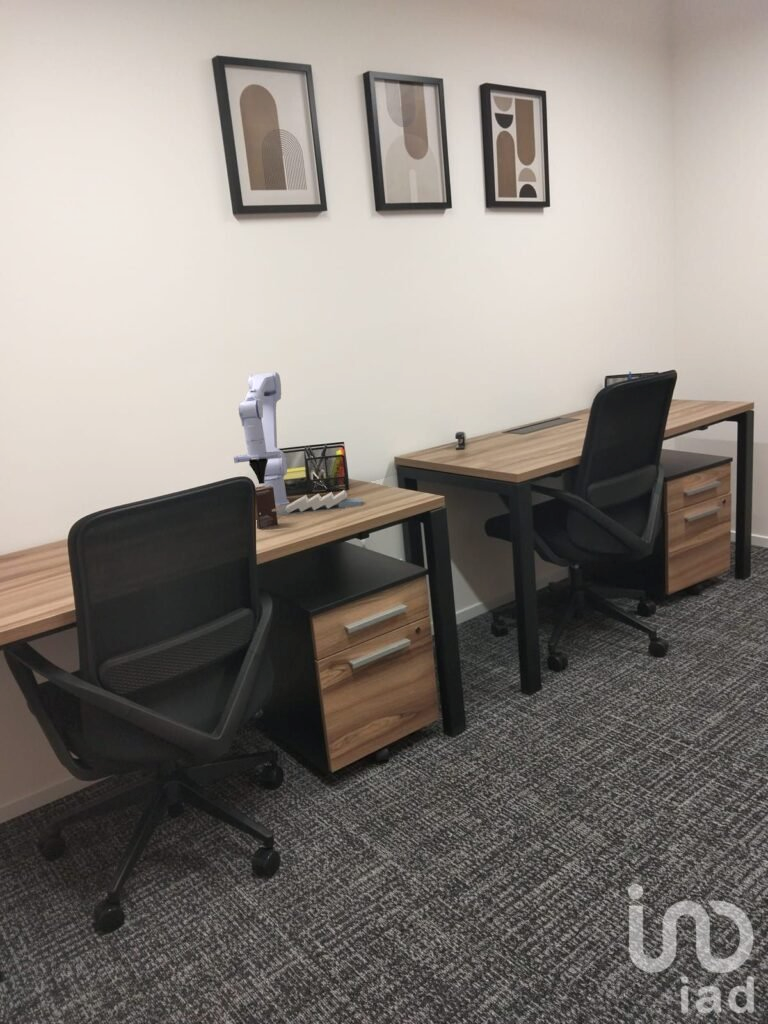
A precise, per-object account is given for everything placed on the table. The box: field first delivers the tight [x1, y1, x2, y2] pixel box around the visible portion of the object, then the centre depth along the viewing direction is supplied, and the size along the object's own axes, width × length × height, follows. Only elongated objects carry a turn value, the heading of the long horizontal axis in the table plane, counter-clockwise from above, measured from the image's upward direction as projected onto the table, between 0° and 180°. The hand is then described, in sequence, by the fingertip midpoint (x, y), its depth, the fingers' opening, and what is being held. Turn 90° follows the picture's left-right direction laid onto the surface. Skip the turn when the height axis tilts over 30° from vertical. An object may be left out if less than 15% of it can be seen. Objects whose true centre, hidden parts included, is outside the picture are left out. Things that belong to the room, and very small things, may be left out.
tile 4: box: [325, 489, 348, 508], centre depth 230 cm, size 2×5×7 cm
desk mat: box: [276, 497, 348, 517], centre depth 234 cm, size 22×15×1 cm
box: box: [255, 485, 279, 530], centre depth 215 cm, size 6×4×12 cm
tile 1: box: [286, 494, 310, 513], centre depth 230 cm, size 2×5×7 cm
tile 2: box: [299, 493, 322, 512], centre depth 230 cm, size 2×5×7 cm
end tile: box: [339, 497, 363, 508], centre depth 230 cm, size 2×5×7 cm
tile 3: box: [311, 491, 335, 510], centre depth 230 cm, size 2×5×7 cm
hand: (261, 483), depth 228 cm, fingers closed
